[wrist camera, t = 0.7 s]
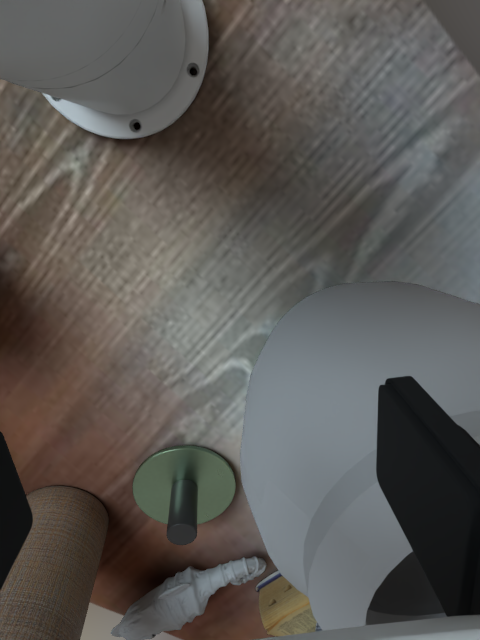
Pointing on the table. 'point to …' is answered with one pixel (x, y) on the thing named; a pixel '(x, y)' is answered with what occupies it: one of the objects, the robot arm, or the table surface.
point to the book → (284, 607)
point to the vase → (350, 441)
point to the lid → (183, 489)
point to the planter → (54, 567)
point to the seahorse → (183, 598)
